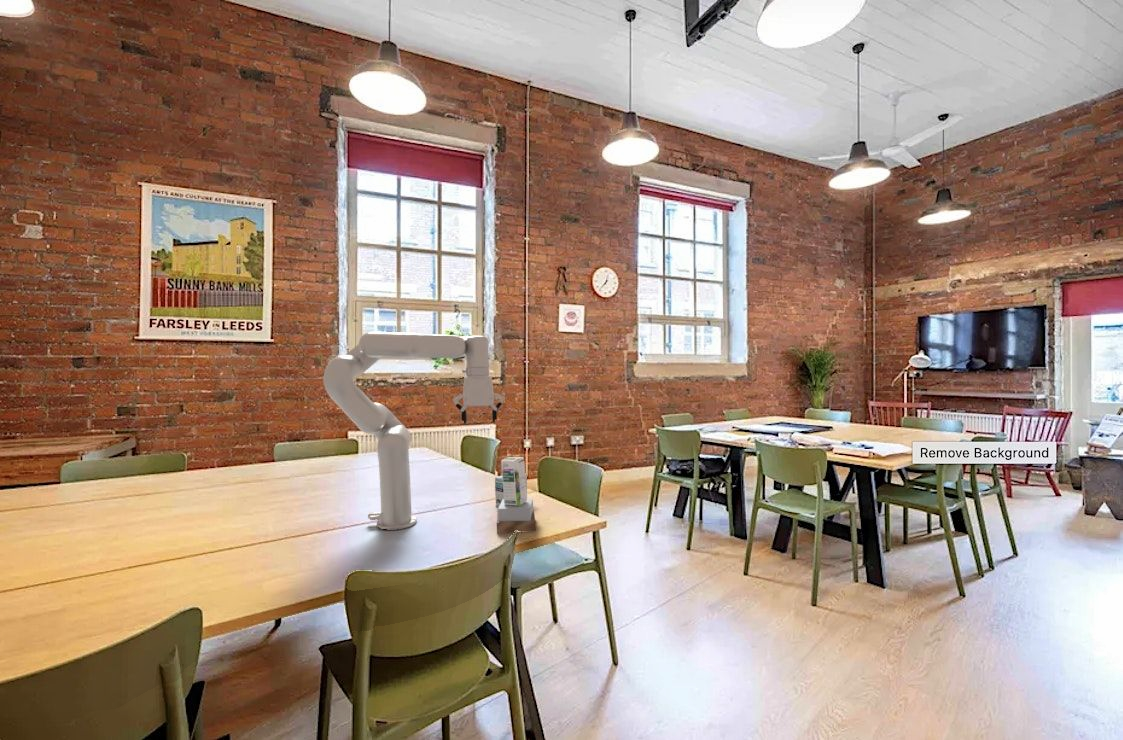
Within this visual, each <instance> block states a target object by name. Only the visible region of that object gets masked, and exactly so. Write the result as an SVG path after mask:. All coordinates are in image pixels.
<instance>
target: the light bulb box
mask: <svg viewBox="0 0 1123 740" xmlns="http://www.w3.org/2000/svg"><path fill="white" fill-rule="evenodd" d="M525 479H526V493H527V494H528V486H527V485H528V478H527V473H525ZM494 488H495V489H494V491H495V492H494V493H495V507H497V508H499V506H500V504H501V501H502V499H504V491H503V479H502V475H499V476H495V477H494Z"/></svg>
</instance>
